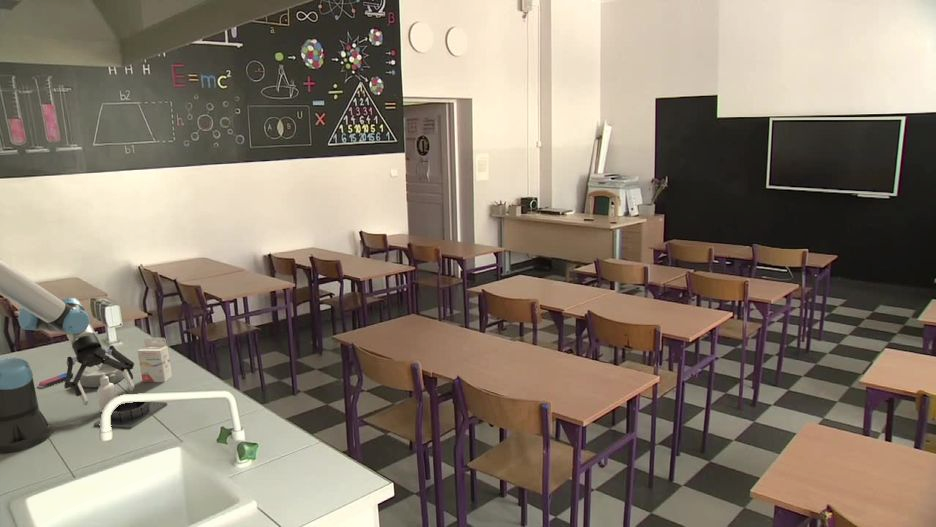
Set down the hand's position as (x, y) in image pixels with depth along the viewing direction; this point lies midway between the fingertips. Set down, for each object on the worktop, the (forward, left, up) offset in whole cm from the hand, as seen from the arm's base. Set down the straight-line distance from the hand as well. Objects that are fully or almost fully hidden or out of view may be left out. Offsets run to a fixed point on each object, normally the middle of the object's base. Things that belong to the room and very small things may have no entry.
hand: (110, 395), depth 205 cm
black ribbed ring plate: (-2, -8, -5) cm, 10 cm away
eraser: (+19, +39, -6) cm, 44 cm away
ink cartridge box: (+25, +3, -5) cm, 25 cm away
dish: (+22, +22, -5) cm, 31 cm away
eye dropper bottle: (+1, +2, -5) cm, 5 cm away
